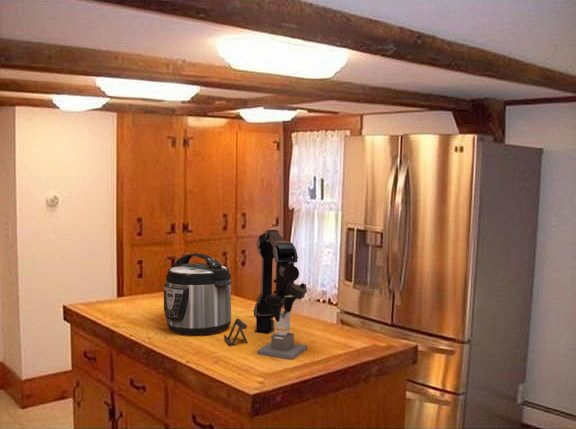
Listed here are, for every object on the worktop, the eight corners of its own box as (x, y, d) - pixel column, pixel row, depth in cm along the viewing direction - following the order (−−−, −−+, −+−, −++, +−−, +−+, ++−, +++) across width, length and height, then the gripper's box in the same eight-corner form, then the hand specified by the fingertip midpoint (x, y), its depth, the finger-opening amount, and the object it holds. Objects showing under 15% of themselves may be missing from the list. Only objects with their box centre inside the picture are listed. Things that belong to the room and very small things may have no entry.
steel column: (275, 337, 216) (275, 312, 215) (279, 334, 220) (280, 310, 219) (285, 339, 214) (285, 313, 214) (289, 336, 218) (290, 311, 217)
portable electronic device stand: (223, 340, 231) (223, 319, 231) (242, 338, 234) (243, 317, 233) (229, 346, 223) (229, 324, 222) (249, 344, 226) (249, 323, 225)
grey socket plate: (257, 354, 214) (257, 336, 213) (273, 344, 227) (273, 327, 226) (292, 359, 208) (292, 341, 208) (306, 349, 221) (307, 332, 221)
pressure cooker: (160, 321, 258) (160, 249, 255) (223, 317, 266) (224, 248, 264) (167, 340, 229) (167, 260, 227) (237, 335, 238) (238, 258, 235)
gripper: (293, 282, 204) (293, 327, 205) (313, 274, 221) (312, 315, 222) (265, 280, 208) (264, 323, 209) (286, 272, 225) (285, 312, 226)
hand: (282, 318), depth 216 cm, fingers open, 9 cm apart
